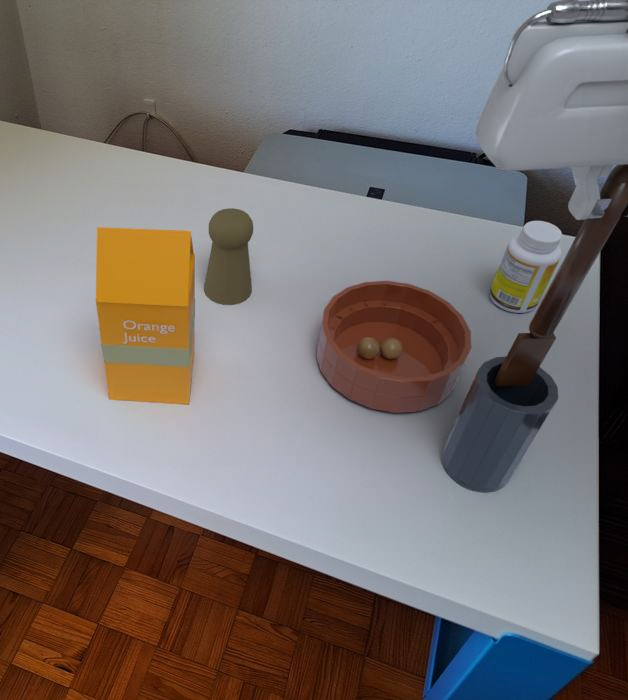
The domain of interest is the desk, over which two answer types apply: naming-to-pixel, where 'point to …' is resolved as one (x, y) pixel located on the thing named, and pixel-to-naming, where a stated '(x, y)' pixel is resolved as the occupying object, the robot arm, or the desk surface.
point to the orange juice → (146, 313)
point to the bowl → (403, 324)
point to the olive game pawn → (229, 257)
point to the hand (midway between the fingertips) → (606, 213)
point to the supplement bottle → (527, 267)
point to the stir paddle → (564, 286)
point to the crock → (496, 428)
